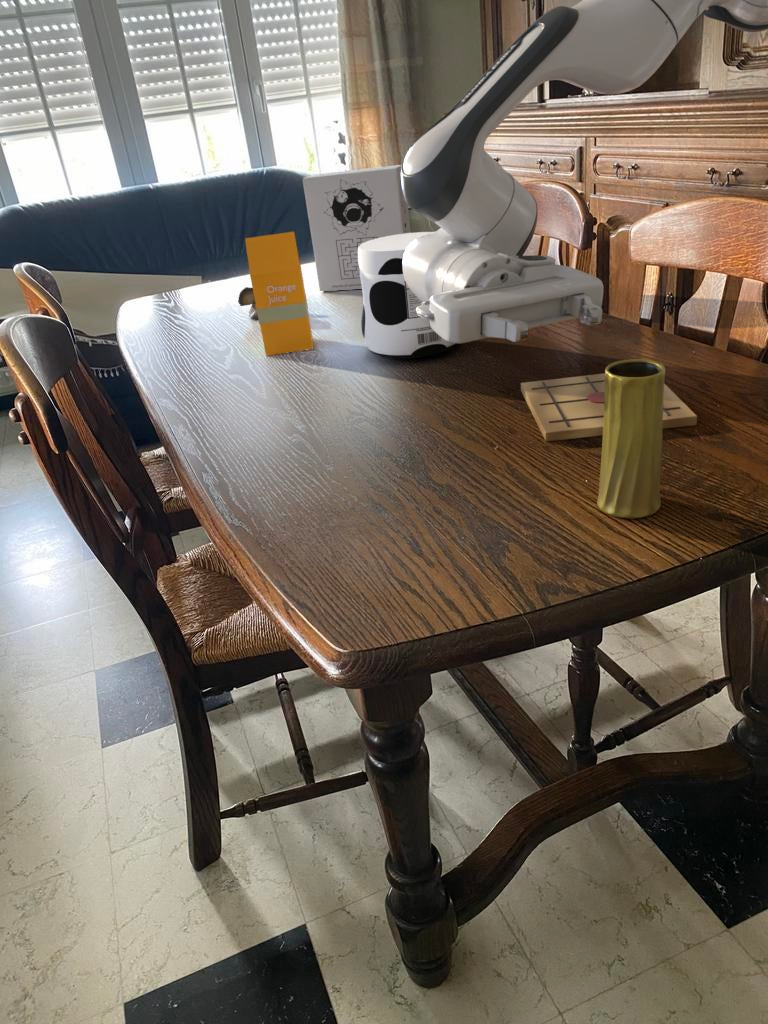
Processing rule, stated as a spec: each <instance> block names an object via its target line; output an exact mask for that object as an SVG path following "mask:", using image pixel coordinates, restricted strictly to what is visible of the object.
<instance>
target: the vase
mask: <svg viewBox="0 0 768 1024" xmlns="http://www.w3.org/2000/svg"><path fill="white" fill-rule="evenodd" d="M604 373H605V393H604V423H603V435H602V442H601V456H600V457H601V458H600V471H599V481H598V482H599V484H598V496H597V500H596V505H597V507H598V508H599V509H600V510H601V512H603V513H605V514H606V515H609V516H611V517H615V518H619V519H630V520H631V519H633V520H634V519H635V520H636V519H641V518H647V517H649V516H652V515H654V514H656V513H657V511H659V510H660V508H661V506H662V500H661V495H660V491H661V490H660V489H661V481H662V480H661V479H662V454H663V453H662V449H663V430H664V429H663V399H664V384H665V378H666V367H665V366H664V364H662V363H661V362H659V361H655V360H651V359H643V358H641V359H640V358H639V359H638V358H637V359H636V358H634V359H624V360H623V359H622V360H617V361H614V362H613V363H612V362H611V363H610V364H608V365H607V366H606V367H605V369H604Z"/></svg>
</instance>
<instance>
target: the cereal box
mask: <svg viewBox="0 0 768 1024" xmlns="http://www.w3.org/2000/svg"><path fill="white" fill-rule="evenodd" d="M401 166H402V164H397V165H396V164H395V165H387V166H378V167H370V168H369V167H368V168H360V169H352V170H351V169H350V170H342V171H341V170H340V171H333V172H323V173H315V174H311V175H308V176H305V177H303V178H302V185H303V192H304V197H305V205H306V210H307V217H308V223H309V230H310V237H311V244H312V250H313V255H314V256H313V257H314V260H315V261H314V262H315V268H316V275H317V280H318V287H319V292H320V291H334V290H350V291H353V290H352V289H362V285H361V279H360V268H359V263H358V247H359V246H360V245H361V244H362V243H365V242H367V241H370V240H373V239H377V238H381V237H386V236H391V235H398V234H405V233H411V225H410V213H409V206H408V205H407V204H406V201H405V198H404V194H403V189H402V182H401Z"/></svg>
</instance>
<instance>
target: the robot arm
mask: <svg viewBox="0 0 768 1024" xmlns="http://www.w3.org/2000/svg"><path fill="white" fill-rule="evenodd" d="M701 14H703V15H704V16H705V17H707V18H709V19H713V20H716V21H719V22H723V23H724V24H726V25H728V26H729V27H731V28H732V29H735V30H738V31H742V32H747V33H759V32H764V31H766V30H768V0H581V1H579V2H578V3H576V4H575V5H573V6H572V7H570V6H569V7H568V6H564V5H559V6H556V7H553V8H551V9H550V10H548V11H547V12H544V13H543V14H542V15H541V16H540V17H538V18H537V19H536V20H534V22H532V23H531V25H529V26H528V27H527V29H525V30H524V31H523V32H522V33H521V34H520V35H519V36H518V37H517V38H516V39H515V40H514V41H513V42H512V43H511V44H510V45H509V46H508V48H506V50H505V51H504V52H503V53H502V54H501V55H500V56H499V57H498V58H497V59H496V60H495V61H494V62H493V63H492V65H491V66H490V67H489V68H488V69H487V70H486V71H485V72H484V73H483V74H482V75H481V77H480V78H479V79H477V81H476V82H475V83H474V84H473V85H472V86H471V87H470V88H469V89H468V91H467V92H466V93H464V95H463V96H461V98H460V99H459V100H458V101H457V102H456V103H455V105H454V106H453V107H452V108H451V109H450V110H449V111H447V113H445V115H443V116H442V117H441V118H440V119H439V120H437V122H435V123H434V124H432V125H431V126H430V127H429V128H428V129H427V130H426V131H424V132H423V133H422V134H420V136H419V137H417V139H416V140H415V141H414V143H412V145H411V146H410V147H409V149H408V150H407V152H406V153H405V156H403V157H404V158H403V160H402V162H401V165H402V166H401V182H402V189H403V194H404V198H405V201H406V204H407V205H408V208H410V209H412V210H413V211H415V212H416V213H418V214H420V215H421V216H423V217H424V218H426V219H427V220H429V221H430V222H433V223H435V224H436V225H437V226H438V227H440V228H438V230H436V231H433V232H434V233H432V234H429V235H425V236H421V237H419V238H417V239H415V240H414V241H412V242H411V243H410V245H409V246H408V247H407V249H406V251H405V254H404V257H403V263H402V268H403V275H404V278H405V281H406V284H407V286H408V287H409V289H410V290H411V291H412V293H413V294H414V295H415V296H416V297H417V298H419V299H420V300H421V301H422V302H423V303H422V306H418V307H417V309H416V313H417V315H418V316H420V317H422V318H423V319H426V320H430V326H431V328H432V329H433V330H434V331H435V332H436V333H437V334H438V335H439V336H440V337H442V338H443V339H444V340H446V341H448V342H451V343H457V345H459V344H465V343H470V342H474V341H480V340H485V339H488V338H489V339H490V338H496V339H505V340H509V341H511V342H512V343H517V342H520V341H524V340H525V341H526V340H527V339H528V337H529V333H528V332H529V329H535V328H539V327H544V326H548V325H553V324H557V323H563V322H568V321H571V320H577V319H579V323H581V324H583V325H585V326H593V325H598V324H601V323H602V321H603V308H602V306H603V301H604V300H603V299H604V284H603V281H602V280H601V279H600V278H598V277H597V276H594V275H592V274H590V273H587V272H585V271H582V270H580V269H577V268H574V267H572V266H568V265H565V264H564V265H563V264H556V258H555V257H553V256H550V255H539V254H538V255H537V254H535V255H525V253H526V252H527V249H528V248H529V246H530V244H531V242H532V240H533V237H534V235H535V231H536V228H537V223H538V217H539V215H538V213H539V211H538V202H537V200H536V198H535V196H533V194H531V193H530V192H529V190H527V188H526V187H524V185H523V184H522V183H520V182H519V181H518V180H517V178H515V177H514V176H513V175H512V174H511V173H510V172H508V171H507V170H506V169H504V167H503V166H501V165H500V164H499V163H498V162H497V161H496V160H495V159H494V158H493V157H492V156H491V155H490V154H489V153H488V152H487V151H485V144H486V141H487V139H488V138H489V136H491V134H493V133H494V131H495V130H496V129H497V128H498V127H499V126H500V125H501V124H502V123H503V122H504V121H505V120H506V119H507V118H508V117H509V115H510V114H511V113H513V111H515V110H516V108H517V107H518V106H519V105H520V104H521V103H522V102H523V101H524V99H526V98H527V97H528V96H529V94H530V93H531V92H532V91H534V90H535V89H536V88H538V87H539V86H540V85H542V84H544V83H546V82H549V81H561V82H565V83H568V84H570V85H573V86H575V87H578V88H581V89H584V90H586V91H589V92H592V93H596V94H600V95H619V94H624V93H627V92H631V91H633V90H635V89H637V88H639V87H641V86H642V85H643V84H644V83H645V82H647V81H648V80H649V79H650V78H651V77H652V76H653V75H654V74H655V73H656V72H657V70H658V69H660V67H661V66H662V65H663V63H664V62H665V61H666V59H667V58H668V57H669V55H670V54H671V53H672V51H673V50H674V49H675V47H676V45H677V44H679V42H680V41H681V39H682V38H683V37H684V35H685V34H686V33H687V31H688V30H689V28H690V27H692V24H693V23H694V22H695V20H696V19H697V18H699V16H700V15H701Z"/></svg>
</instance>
